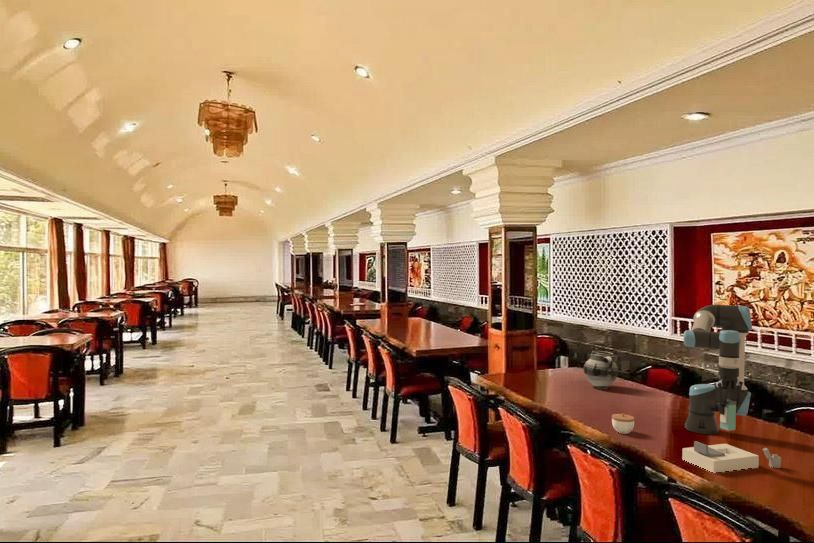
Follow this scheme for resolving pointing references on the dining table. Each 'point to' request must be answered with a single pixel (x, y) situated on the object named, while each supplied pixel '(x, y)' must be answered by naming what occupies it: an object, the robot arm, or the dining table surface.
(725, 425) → the plug
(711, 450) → the shutter
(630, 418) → the lidded jar
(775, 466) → the lighter
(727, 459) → the socket
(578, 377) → the dining table surface
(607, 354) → the ceramic pot
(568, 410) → the dining table surface
